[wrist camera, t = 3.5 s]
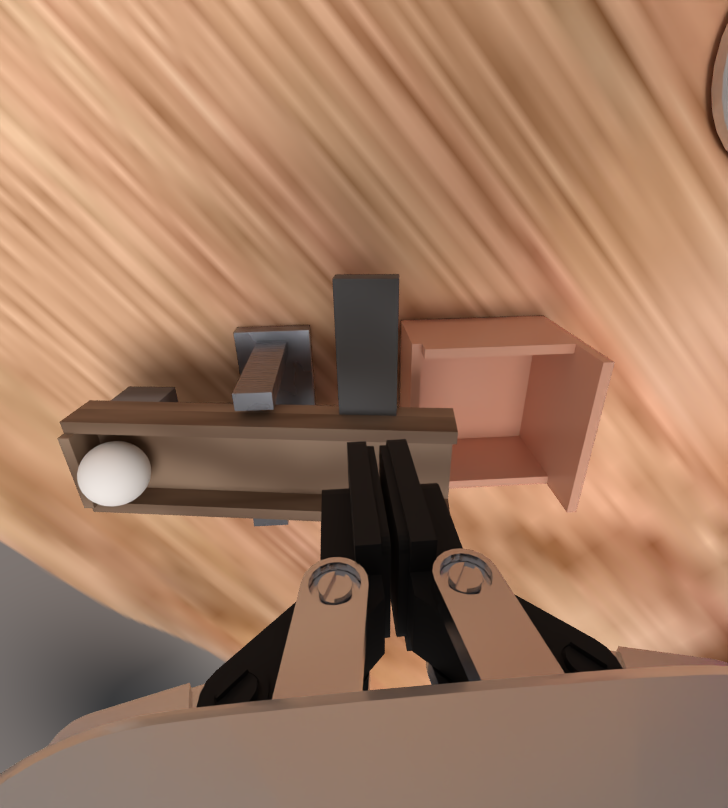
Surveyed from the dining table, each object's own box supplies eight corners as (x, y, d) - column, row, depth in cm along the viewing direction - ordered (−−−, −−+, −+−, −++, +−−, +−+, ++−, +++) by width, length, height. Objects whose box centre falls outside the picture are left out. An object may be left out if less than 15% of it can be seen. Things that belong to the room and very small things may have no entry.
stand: (237, 327, 31) (199, 384, 22) (309, 324, 31) (300, 380, 22) (255, 449, 35) (230, 535, 27) (318, 446, 35) (313, 530, 27)
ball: (93, 428, 25) (51, 464, 22) (154, 429, 25) (120, 465, 22) (111, 479, 26) (74, 519, 23) (168, 480, 26) (138, 521, 23)
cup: (401, 320, 31) (424, 369, 23) (543, 315, 32) (614, 362, 24) (398, 443, 36) (416, 520, 28) (522, 438, 36) (576, 511, 28)
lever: (86, 264, 25) (-1, 288, 19) (457, 262, 23) (473, 288, 18) (142, 458, 31) (88, 517, 25) (441, 467, 29) (450, 533, 24)
